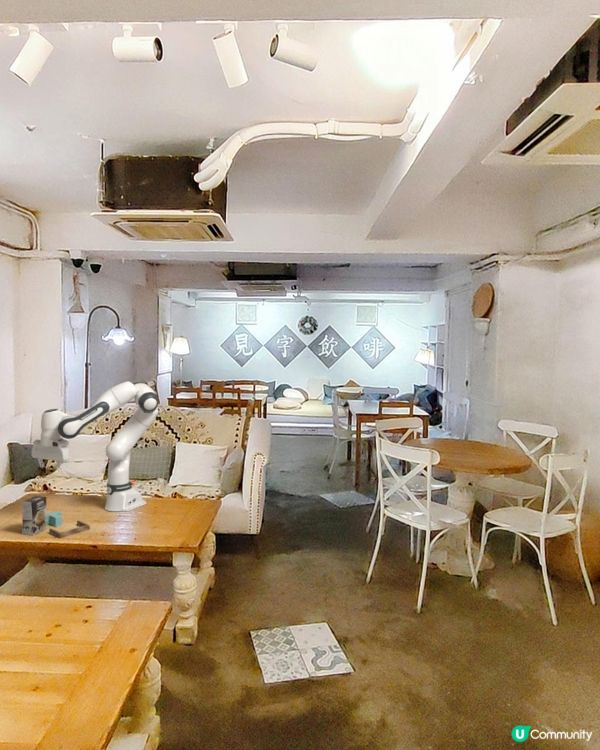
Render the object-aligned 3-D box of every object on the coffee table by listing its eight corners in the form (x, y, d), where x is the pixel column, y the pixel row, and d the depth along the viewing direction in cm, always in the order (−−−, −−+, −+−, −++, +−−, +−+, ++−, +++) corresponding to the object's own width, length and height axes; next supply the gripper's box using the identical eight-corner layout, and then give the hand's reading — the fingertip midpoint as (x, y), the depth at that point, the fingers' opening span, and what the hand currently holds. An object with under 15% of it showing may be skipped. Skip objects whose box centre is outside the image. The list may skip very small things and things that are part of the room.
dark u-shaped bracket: (79, 524, 252) (79, 520, 252) (89, 529, 247) (89, 525, 246) (49, 533, 240) (49, 529, 240) (59, 538, 235) (59, 534, 234)
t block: (58, 519, 259) (58, 510, 258) (67, 523, 253) (67, 514, 253) (40, 524, 251) (40, 515, 251) (49, 528, 246) (49, 519, 246)
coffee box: (33, 535, 237) (33, 502, 236) (21, 534, 238) (21, 501, 237) (47, 528, 246) (47, 496, 245) (35, 527, 247) (35, 495, 246)
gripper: (28, 440, 253) (28, 467, 254) (62, 444, 248) (61, 472, 249) (38, 438, 259) (37, 464, 260) (71, 442, 254) (70, 469, 255)
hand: (49, 468), depth 254 cm, fingers open, 8 cm apart
